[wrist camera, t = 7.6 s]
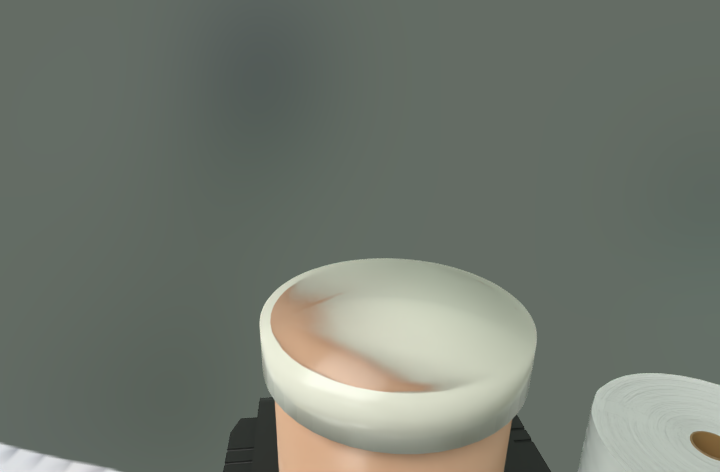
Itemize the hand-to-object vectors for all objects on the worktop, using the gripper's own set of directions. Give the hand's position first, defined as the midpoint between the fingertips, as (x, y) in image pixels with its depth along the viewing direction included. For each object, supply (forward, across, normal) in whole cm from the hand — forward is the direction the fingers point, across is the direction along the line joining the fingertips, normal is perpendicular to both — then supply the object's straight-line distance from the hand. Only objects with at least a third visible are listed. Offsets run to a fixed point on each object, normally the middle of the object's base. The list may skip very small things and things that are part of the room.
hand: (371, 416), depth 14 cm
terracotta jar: (-3, 0, +7) cm, 7 cm away
